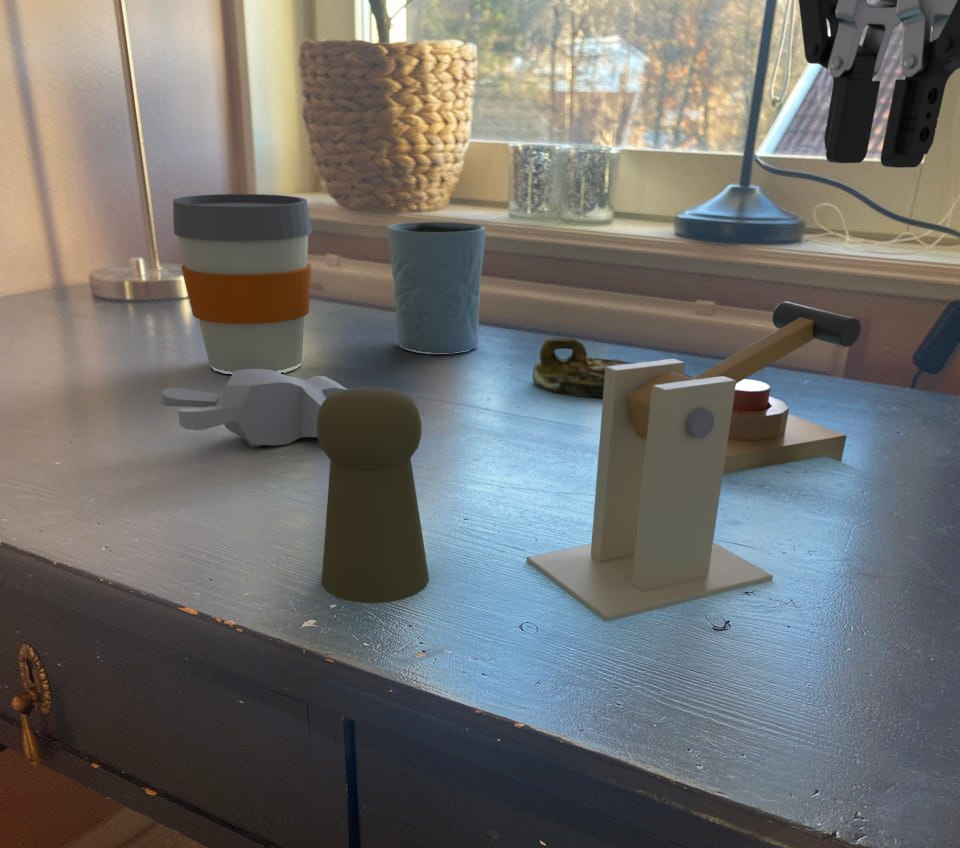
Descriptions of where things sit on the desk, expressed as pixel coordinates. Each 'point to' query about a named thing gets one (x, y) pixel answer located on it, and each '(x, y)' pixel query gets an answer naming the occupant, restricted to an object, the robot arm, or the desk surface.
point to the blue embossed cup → (437, 284)
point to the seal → (571, 369)
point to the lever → (759, 352)
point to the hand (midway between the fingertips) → (871, 162)
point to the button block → (777, 439)
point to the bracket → (655, 500)
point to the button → (751, 396)
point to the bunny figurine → (257, 406)
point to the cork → (371, 496)
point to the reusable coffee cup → (247, 276)
